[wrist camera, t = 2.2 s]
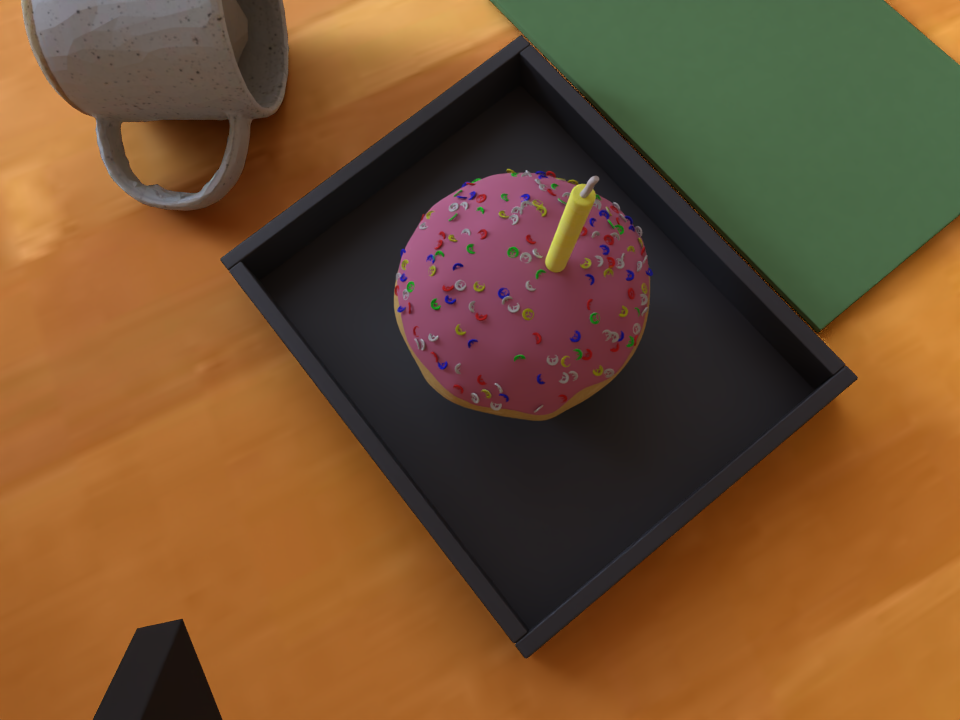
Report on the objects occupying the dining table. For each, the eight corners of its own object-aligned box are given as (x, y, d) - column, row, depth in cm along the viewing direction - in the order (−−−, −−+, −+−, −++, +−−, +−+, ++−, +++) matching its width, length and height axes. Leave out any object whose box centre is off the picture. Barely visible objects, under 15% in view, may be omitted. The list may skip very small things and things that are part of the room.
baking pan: (242, 281, 34) (219, 258, 32) (522, 71, 36) (521, 34, 34) (527, 654, 30) (525, 659, 27) (835, 394, 31) (859, 377, 29)
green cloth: (486, -3, 37) (486, -9, 37) (693, -154, 38) (694, -162, 38) (817, 333, 32) (820, 330, 32) (1042, 145, 33) (1048, 140, 33)
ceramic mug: (115, 9, 38) (10, -127, 31) (292, -5, 38) (230, -147, 30) (96, 227, 36) (-23, 135, 28) (286, 215, 35) (216, 118, 28)
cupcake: (615, 214, 34) (650, 16, 22) (657, 423, 31) (722, 325, 20) (402, 249, 34) (326, 72, 22) (428, 458, 32) (358, 382, 20)
